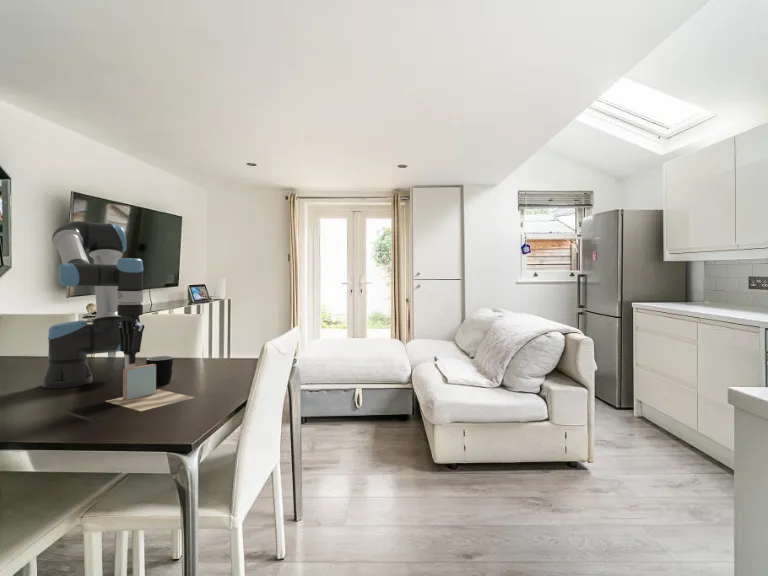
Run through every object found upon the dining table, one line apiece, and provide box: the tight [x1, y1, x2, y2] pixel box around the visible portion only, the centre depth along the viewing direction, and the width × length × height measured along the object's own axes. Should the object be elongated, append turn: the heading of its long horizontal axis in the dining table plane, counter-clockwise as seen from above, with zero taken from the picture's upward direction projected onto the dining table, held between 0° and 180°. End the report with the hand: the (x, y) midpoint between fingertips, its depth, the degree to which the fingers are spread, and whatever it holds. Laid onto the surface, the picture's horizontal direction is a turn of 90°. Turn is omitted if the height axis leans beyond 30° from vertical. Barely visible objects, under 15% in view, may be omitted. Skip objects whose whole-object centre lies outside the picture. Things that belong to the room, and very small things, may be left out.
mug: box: [145, 355, 174, 386], centre depth 162 cm, size 12×9×10 cm
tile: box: [122, 364, 157, 400], centre depth 142 cm, size 2×10×10 cm, turn 150°
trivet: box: [104, 389, 196, 412], centre depth 139 cm, size 20×18×1 cm
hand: (130, 373), depth 145 cm, fingers closed
